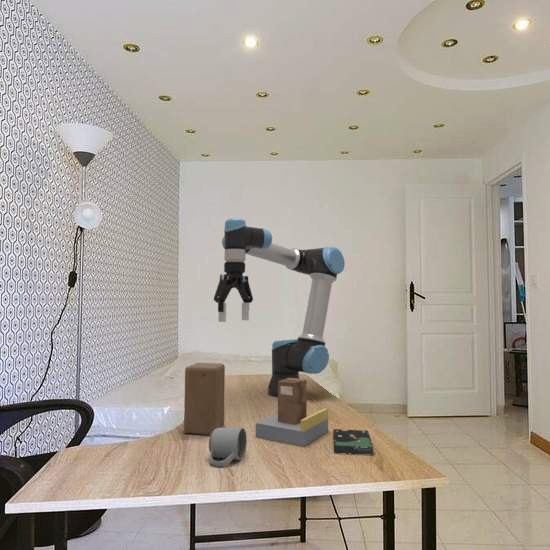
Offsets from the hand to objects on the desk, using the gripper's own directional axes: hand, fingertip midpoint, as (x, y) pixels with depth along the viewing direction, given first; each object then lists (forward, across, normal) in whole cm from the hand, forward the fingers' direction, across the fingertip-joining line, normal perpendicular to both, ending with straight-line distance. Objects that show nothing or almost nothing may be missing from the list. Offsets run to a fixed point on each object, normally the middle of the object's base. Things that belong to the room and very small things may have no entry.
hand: (234, 321), depth 155 cm
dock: (+33, +9, +29) cm, 45 cm away
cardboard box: (+29, +9, +29) cm, 42 cm away
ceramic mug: (+33, +36, +25) cm, 55 cm away
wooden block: (+33, +20, +4) cm, 39 cm away
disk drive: (+33, +9, +48) cm, 59 cm away
